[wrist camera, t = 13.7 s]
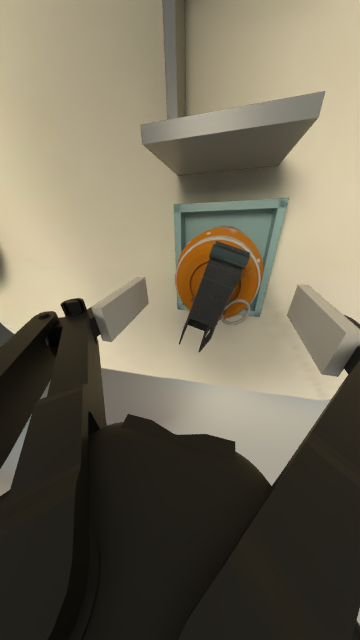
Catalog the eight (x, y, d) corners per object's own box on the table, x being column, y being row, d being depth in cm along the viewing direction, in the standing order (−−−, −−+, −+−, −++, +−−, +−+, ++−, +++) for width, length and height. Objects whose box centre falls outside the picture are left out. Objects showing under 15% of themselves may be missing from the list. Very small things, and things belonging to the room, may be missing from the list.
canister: (261, 236, 25) (319, 263, 9) (230, 298, 32) (229, 384, 15) (206, 217, 26) (163, 210, 9) (186, 282, 32) (138, 347, 16)
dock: (172, -58, 16) (77, -510, 6) (338, -131, 13) (695, -1301, 3) (177, 175, 25) (142, 144, 15) (278, 165, 22) (318, 117, 12)
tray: (179, 206, 27) (173, 204, 24) (282, 200, 23) (289, 197, 21) (181, 302, 35) (177, 309, 33) (257, 309, 32) (259, 316, 29)
